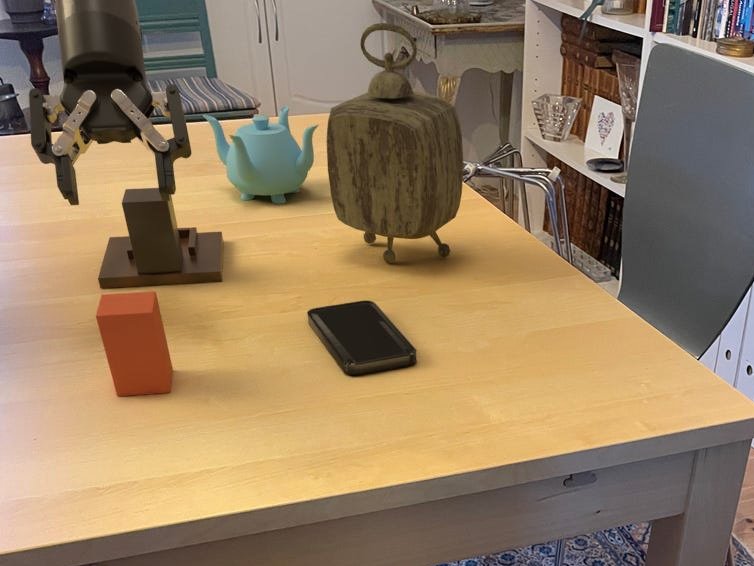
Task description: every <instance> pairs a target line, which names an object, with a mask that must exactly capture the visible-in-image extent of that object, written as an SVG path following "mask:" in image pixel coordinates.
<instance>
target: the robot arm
mask: <svg viewBox="0 0 754 566" xmlns="http://www.w3.org/2000/svg"><path fill="white" fill-rule="evenodd" d="M55 18H56V26H57V34H58V45H59V51H60V60H61V61H60V62H61V69H62V78H63V88H62V91H61V92H60V95H59V94H58V95H57V94H43V92H42V90H41V89H39V88H36V87H34V88H31V89H30V90H29V91H28V106H29V108H28V109H29V125H30V126H29V127H30V128H29V129H30V145H31V147H32V149H33V150H34V152H35V154H36V156H37V157H38V159H39V161H40V162H41V164H44V165H50V164H52V165H54V169H55V176H56V177H55V178H56V185H57V188H58V190H59V192H60V194H61V195H62V198H63V199H64V200H67V201H68V203H69V205H70V206H80V201H79V193H78V192H79V191H78V183H77V174H76V169H75V166H74V165H75V164H76V162H77V160H78V159H79V157H80V156H81V155H83V154H85V153H86V152H87V151H88V149H89V148H90V146H91V144H92V143H93V142H96V143H97V145H106V144H111V143H113V142H115V143H121V144H131V143H132V140H135V139H137V140H138V141H139V142H140V143H141V144H142V145H143V147H145V148H146V150H148V151H149V152H151V153H152V154H153V156H154V160H155V168H156V178H157V188H159V192H160V195H161V198H162V201H170V195H171V196H172V195H173V196H174V195H175V194H176V190H177V187H176V178H175V169H174V164H175V161H176V160H178V159H180V158H183V159H189V158H190V157H191V156H192V146H191V143H190V142H191V141H190V137H189V131H188V125H187V120H186V115H185V109H184V105H183V101H182V97H181V94H180V90H179V87H178V86H177V85H175V84H173V83H170V84H168V85H167V86H166V87H165V90H164V91H163V90H162V91H152V92H151V91H150V90H149V88H148V83H147V75H146V68H145V67H146V66H145V57H144V50H143V30H142V29H141V25H140V17H139V12H138V8H137V4H136V0H55ZM155 108H158V109H160V110H161V113H162V115H163V116H164V117H165V118H168V119H170V121H171V127H172V132H173V137H171V138H169V139H166V138H165V137H164V136H163V135H162V134H161V133H160V132H159V131H158V130H157V129H156V128H155V126H154V125H153V123H152V122H151V121H150V120H149V119H150V118H151V116H152V115H153V113H154V111H155ZM62 111H64V113H65V115H66V116H67V117H68V118H67V119H66V121H65V122H64V123H63V125H62V131H61V134H60V135H59V136H58V138H57V139H56V140H55V142H54V143H53V139H52V138H53V137H52V124H53V123H56V120H57V118H58V115H59V113H60V112H62Z"/></svg>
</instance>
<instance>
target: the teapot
mask: <svg viewBox="0 0 754 566" xmlns="http://www.w3.org/2000/svg"><path fill="white" fill-rule="evenodd" d="M289 111H290V107H289V105H284V106H282V107H281V108H280V110H279V115H278V120H277V123H275V122H269V121H270V116H269V117H268V116H266V115H256V116H254V117H252V118H251V120H252V123H247V124H245V125H241V126H240V127H239V128H237V129H236V131H235V133H234V135H232V134H229V135H228V137H229V138H230V139H231V143H230V144H229V143H228V141H227V139H226V136H225V133H224V129H223V126H222V124H221V123H220V122H219V120H218V119H216V118H215V117H213V116H212V115H209V114H202V117H203V118H204V119H205V120H206V121H207V122H208V123H209V125H210V127H211V129H212V132H213V134H214V142H215V148H216V149H215V150H216V153H217V155H218V158H219V160H220V161H221V162H222V164H223V165H224V166H225V168H226V169H225V170H226V171H225V172H226V177H227V179H228V181H229V182H230V183H231V185H232V186H234V187H235V188H236V189H237V190H238V191H239V192H241V196H240V197H239V199H240V200H242V201H251V200H254V199H255V198H256V196H270V198H271V199H270V200H271V203H273V204H284V203H286V201H287V200H286V198H285V197H286V196H285V195H284V194H297V193H300V192H301V191H300V188H301V187H302V186H303V184H304V182H305V181H306V179H307V177H308V175H309V174H308V173H309V171H310V170H311V169H312V167H313V165H314V161H315V152H314V146H313V145H314V144H313V137H314V133H315V130H317V128H318V127H319V126H320V124H315V125H311V126H307V127H306V128H305V129H304V131H303V134H302V147H301V146H300V145H299V143H298V142H297V141H296V138H295V137H294V136H293V135H292V133H291V129H290V124H289Z"/></svg>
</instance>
